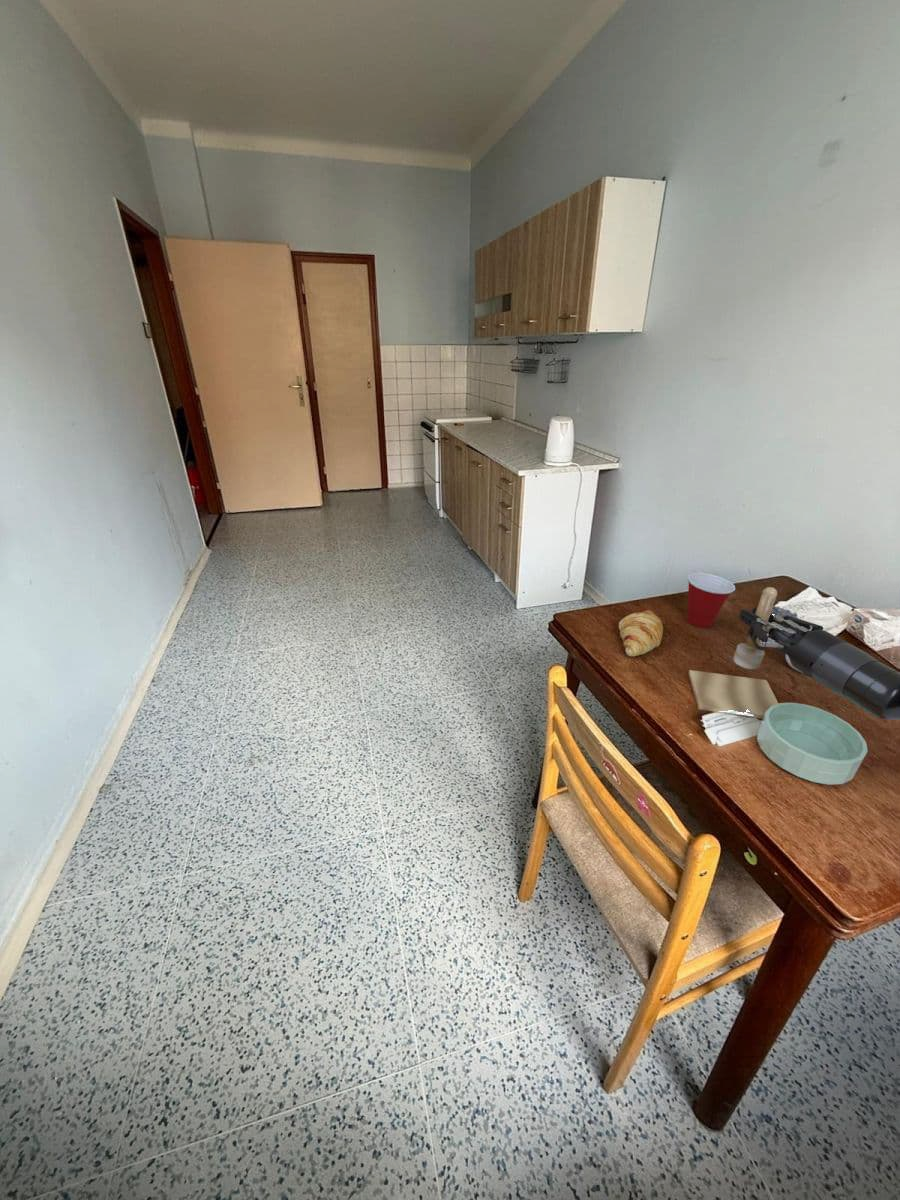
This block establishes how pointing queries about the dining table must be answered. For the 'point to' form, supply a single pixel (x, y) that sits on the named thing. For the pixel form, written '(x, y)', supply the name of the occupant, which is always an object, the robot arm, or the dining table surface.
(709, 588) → the plastic cup
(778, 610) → the egg carton
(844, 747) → the bowl
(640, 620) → the croissant
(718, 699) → the flat beige board
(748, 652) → the dish brush
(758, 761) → the dining table surface
